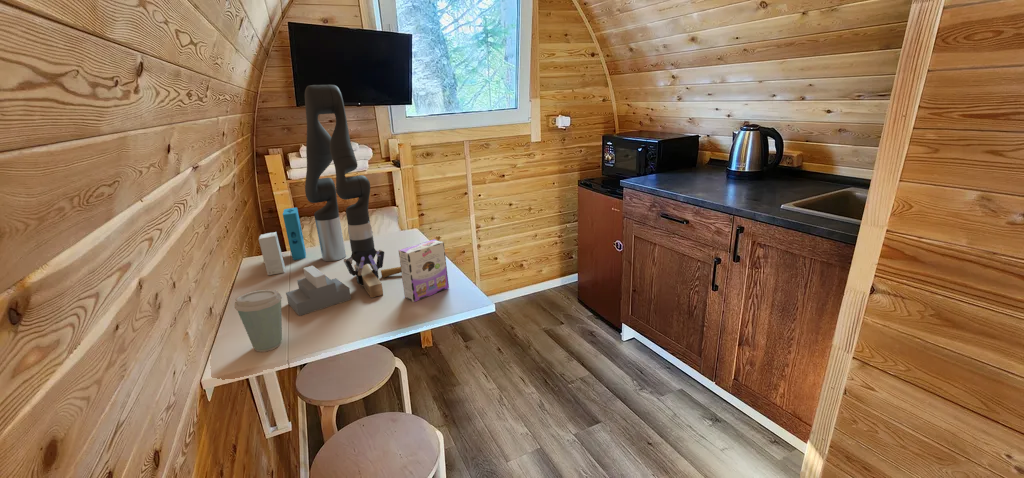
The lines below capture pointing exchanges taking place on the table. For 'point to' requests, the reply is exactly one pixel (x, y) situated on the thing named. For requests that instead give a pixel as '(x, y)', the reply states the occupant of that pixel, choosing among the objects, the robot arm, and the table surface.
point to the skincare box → (271, 253)
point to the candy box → (423, 269)
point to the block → (294, 233)
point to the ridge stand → (316, 292)
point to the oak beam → (371, 282)
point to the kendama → (390, 271)
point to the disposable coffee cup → (261, 318)
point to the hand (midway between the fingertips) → (368, 282)
